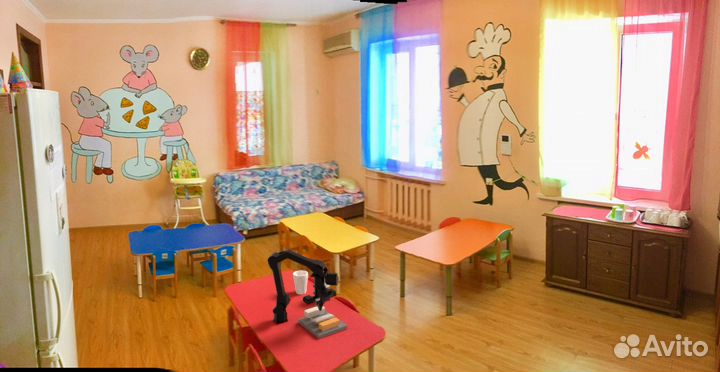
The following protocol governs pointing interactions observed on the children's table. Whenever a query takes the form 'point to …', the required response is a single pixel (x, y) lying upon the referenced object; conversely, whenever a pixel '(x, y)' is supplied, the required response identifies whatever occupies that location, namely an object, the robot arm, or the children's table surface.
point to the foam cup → (300, 281)
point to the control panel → (314, 327)
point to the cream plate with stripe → (322, 317)
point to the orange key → (329, 324)
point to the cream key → (313, 312)
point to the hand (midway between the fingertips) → (320, 310)
